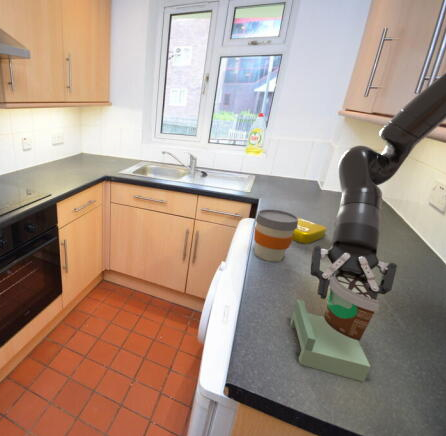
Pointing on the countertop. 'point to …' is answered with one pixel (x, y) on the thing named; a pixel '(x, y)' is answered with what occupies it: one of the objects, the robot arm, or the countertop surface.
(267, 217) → the reusable coffee cup
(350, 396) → the countertop surface
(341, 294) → the food container
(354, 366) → the green stand base
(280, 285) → the countertop surface
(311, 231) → the yellow flat block
